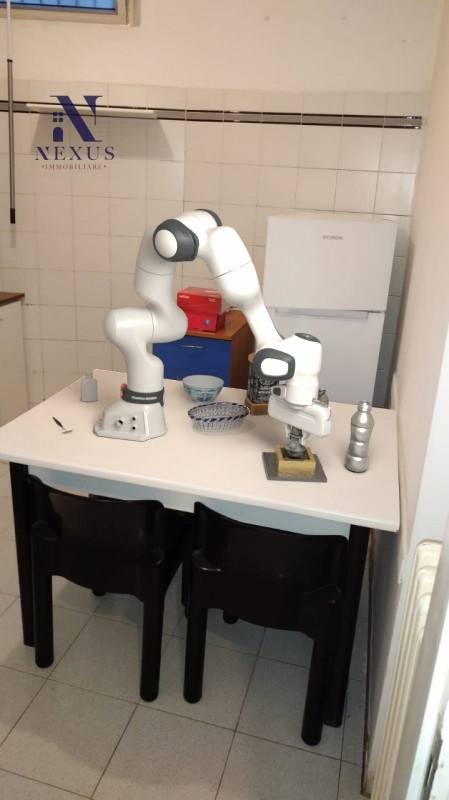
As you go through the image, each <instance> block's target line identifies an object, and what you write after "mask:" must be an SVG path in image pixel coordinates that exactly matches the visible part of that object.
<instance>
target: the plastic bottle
mask: <svg viewBox="0 0 449 800" xmlns="http://www.w3.org/2000/svg"><path fill="white" fill-rule="evenodd" d="M372 407H373V403H372V402H370V401H367V400H360V401H358V404H357V410H356V411H355V412H354V413H353V414H352V415H351V417H350V435H349V437H350V438H349V444H348V448H347V452H346V454H345V458H344V463H345V467H346V468H347V469H348V470H350V471H353V472H358V473H360V472H365V471H366V470H367V468H368V466H369V461H370V460H369V459H370V458H369V448H370V447H369V446H370V440H371V437H372V432H373V429H374V426H375V419H374V416H373V414H372V413H371V412H372Z"/></svg>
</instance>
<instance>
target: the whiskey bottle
mask: <svg viewBox="0 0 449 800" xmlns="http://www.w3.org/2000/svg"><path fill="white" fill-rule="evenodd" d="M273 324H274V322H273ZM274 325H275V324H274ZM255 353H256V351H253V352H251V353H249V354H248V357H247V359H248V362H249V363H248V373H247V385H246V395H245V397H244V403H243V406H244V405H245V406H246V407H248V408H249V410H250V413H248V414H249V415H251V416H269V414H268V404H269V398H270V396H271V395H272V394H271V387H272V386H276V385H279V384H280V381H265V380H262V379H260V378H259V377H258V376H257V375H256V374H255V372H254V370H253V367H252V361H253V357H254V355H255Z"/></svg>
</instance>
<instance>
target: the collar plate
mask: <svg viewBox="0 0 449 800" xmlns="http://www.w3.org/2000/svg"><path fill="white" fill-rule="evenodd" d="M304 447H305V448H306V450H305V451H304V454H303V455H302V456H301V457H302V458H303V460H299V459H285V456H287V455H288V454H287V453H286V450H285V445H274V452H273V451H262V458H263V459H262V460H263V464H264V465H263V466H264V468H265V473H266V477H267V481H280V482H281V481H282V482H283V481H284V482H301V483H302V482H303V483H325V484H326V483H328V477H327V475H326V472H325V470H324V468H323V466H322V464H321V461H320V458H319V457H318V454H316V453H312V450H311V446H304Z"/></svg>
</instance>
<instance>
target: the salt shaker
mask: <svg viewBox="0 0 449 800" xmlns="http://www.w3.org/2000/svg"><path fill="white" fill-rule="evenodd" d="M291 428H292V433H290V435H291V440H290V439H289V440H290V441H289V443H286V444H285V445H284V446H285V450H286V453H287V454H288V455H287V456H285V459H299V460H303V458H302V457H301V456H302V455H303V454H304V451H305V450H306V448H305V447H306V446H305V445H301V444H299V443H298V442H299V438H302V437H303V435H304V434H303V430H301V429H298V428H296V427H294V426H291Z"/></svg>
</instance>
